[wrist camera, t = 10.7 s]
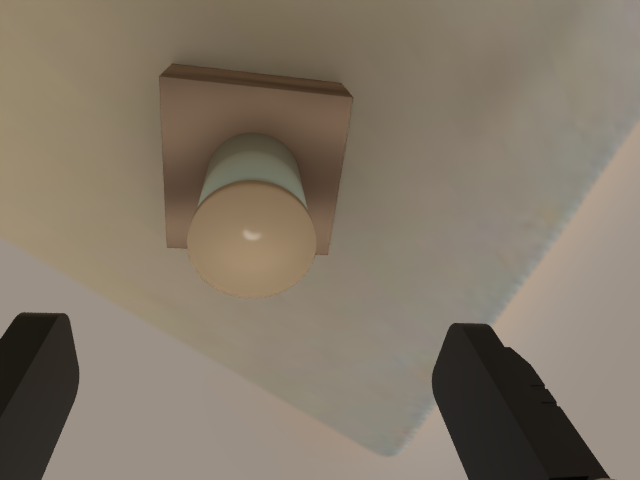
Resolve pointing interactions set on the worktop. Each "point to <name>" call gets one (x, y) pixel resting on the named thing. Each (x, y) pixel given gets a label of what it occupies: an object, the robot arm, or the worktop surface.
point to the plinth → (250, 117)
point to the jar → (252, 220)
